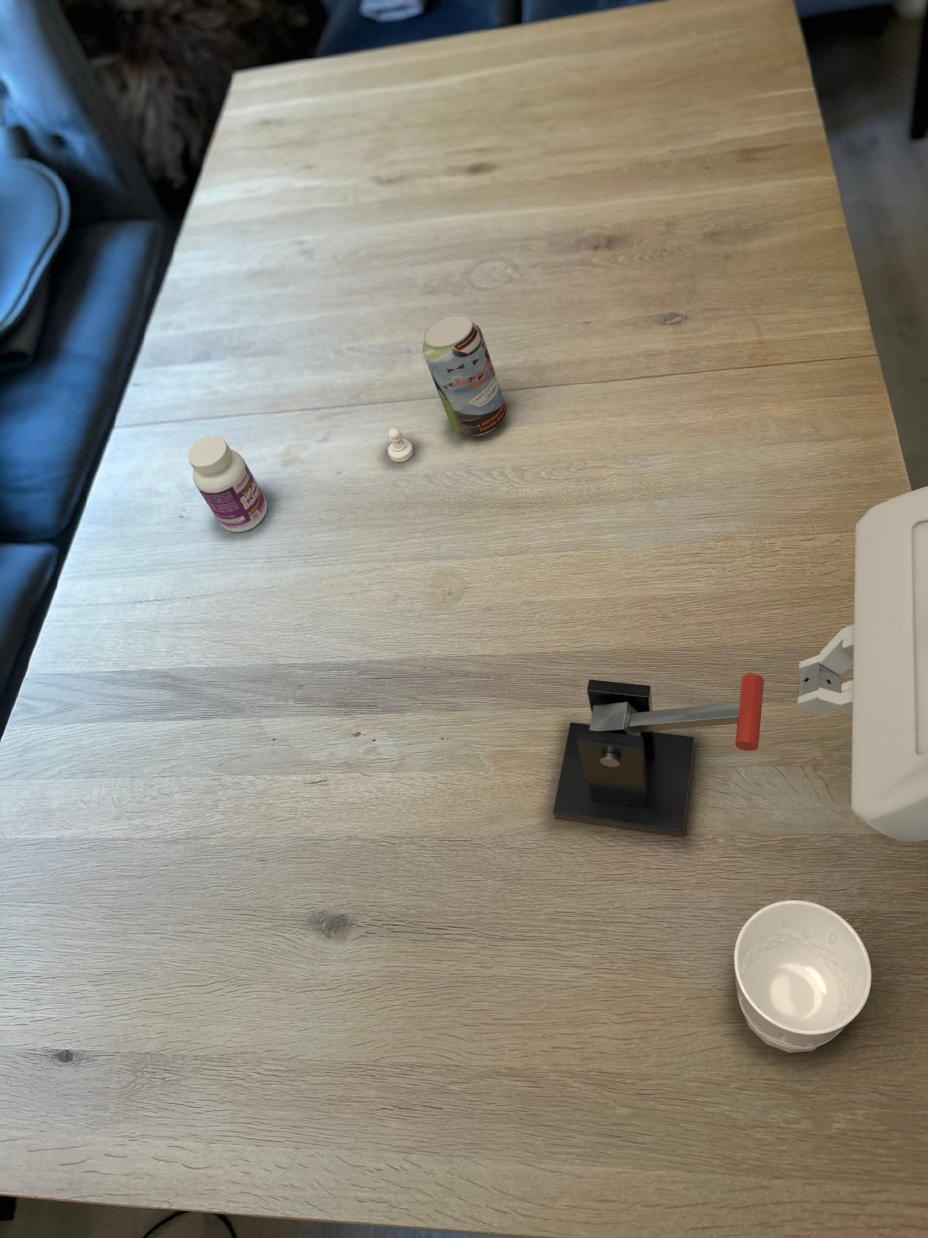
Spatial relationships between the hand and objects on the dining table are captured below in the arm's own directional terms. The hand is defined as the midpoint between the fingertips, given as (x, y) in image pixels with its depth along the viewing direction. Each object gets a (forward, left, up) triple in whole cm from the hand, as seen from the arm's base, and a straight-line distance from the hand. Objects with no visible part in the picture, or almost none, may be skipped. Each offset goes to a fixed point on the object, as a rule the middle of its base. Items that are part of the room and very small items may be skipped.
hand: (804, 689), depth 60 cm
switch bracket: (+12, -1, -19) cm, 23 cm away
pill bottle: (+55, -25, -19) cm, 63 cm away
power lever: (+7, -1, -8) cm, 11 cm away
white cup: (-1, +14, -19) cm, 24 cm away
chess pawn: (+40, -34, -19) cm, 56 cm away
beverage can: (+33, -39, -19) cm, 54 cm away
